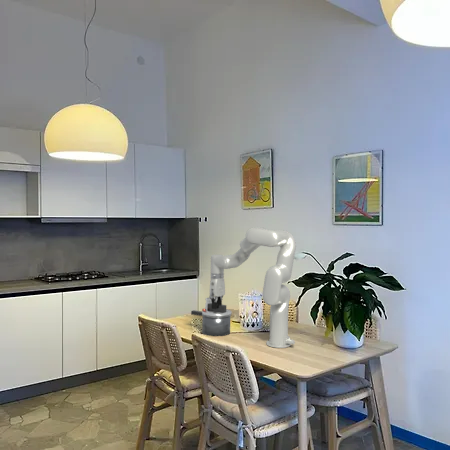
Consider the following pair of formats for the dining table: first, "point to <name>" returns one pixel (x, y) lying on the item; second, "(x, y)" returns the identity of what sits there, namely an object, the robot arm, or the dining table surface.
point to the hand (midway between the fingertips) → (216, 307)
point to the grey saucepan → (214, 324)
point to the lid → (216, 311)
